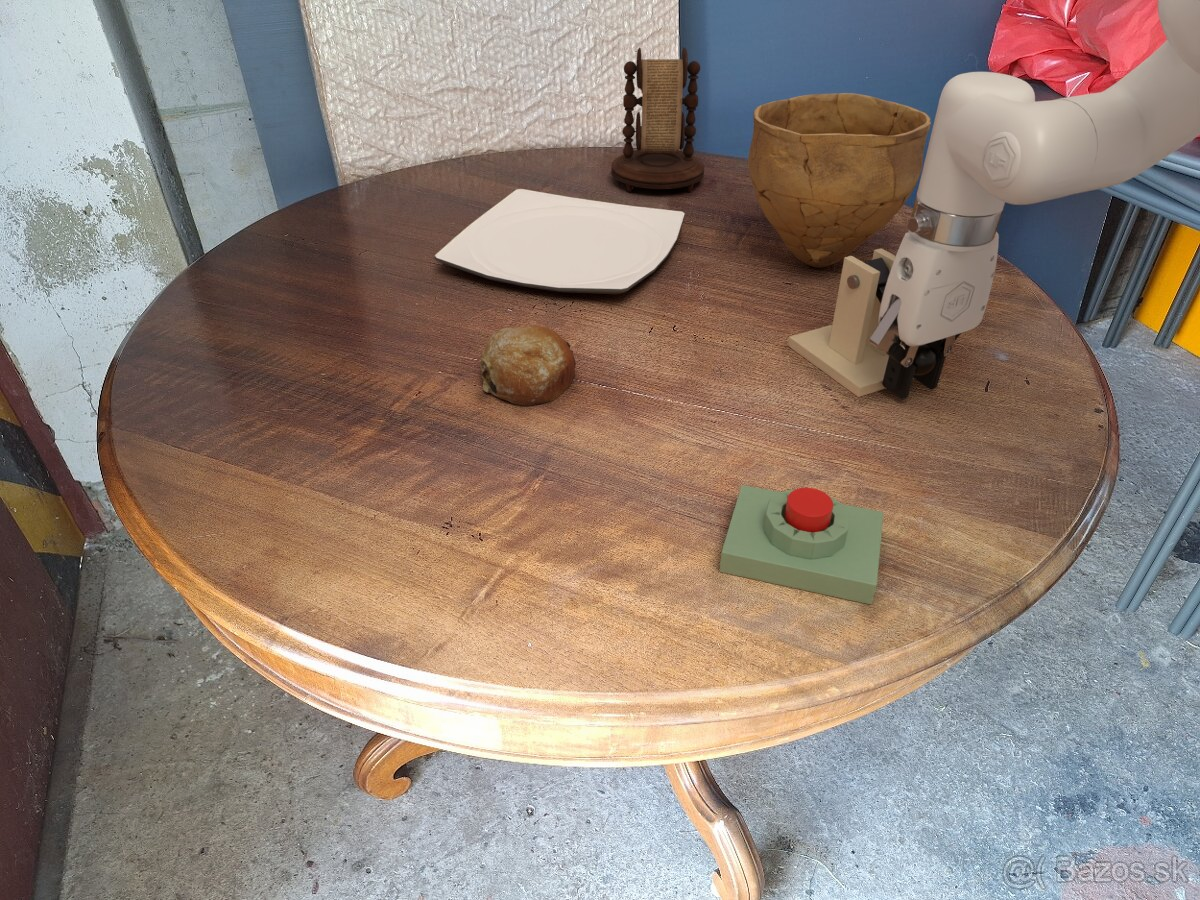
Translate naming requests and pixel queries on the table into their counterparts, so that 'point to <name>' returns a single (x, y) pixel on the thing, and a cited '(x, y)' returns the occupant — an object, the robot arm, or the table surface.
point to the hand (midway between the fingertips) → (909, 385)
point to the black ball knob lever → (924, 354)
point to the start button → (808, 510)
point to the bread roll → (527, 365)
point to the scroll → (659, 125)
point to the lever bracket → (850, 331)
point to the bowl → (834, 169)
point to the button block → (803, 547)
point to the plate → (564, 243)
